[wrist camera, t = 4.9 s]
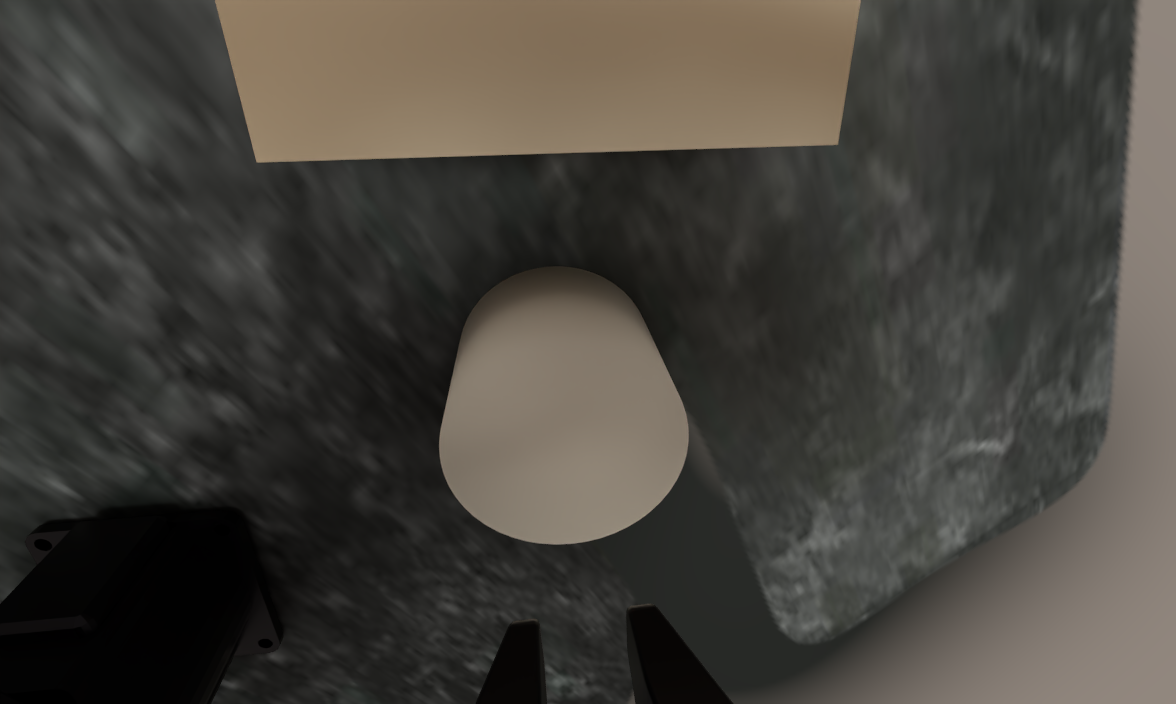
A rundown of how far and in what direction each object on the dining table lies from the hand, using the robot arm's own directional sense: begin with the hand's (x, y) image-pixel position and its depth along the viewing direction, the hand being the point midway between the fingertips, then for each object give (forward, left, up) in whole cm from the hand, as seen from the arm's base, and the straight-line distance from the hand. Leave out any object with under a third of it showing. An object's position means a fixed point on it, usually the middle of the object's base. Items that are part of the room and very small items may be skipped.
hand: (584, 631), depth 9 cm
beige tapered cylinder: (-1, 0, -11) cm, 11 cm away
